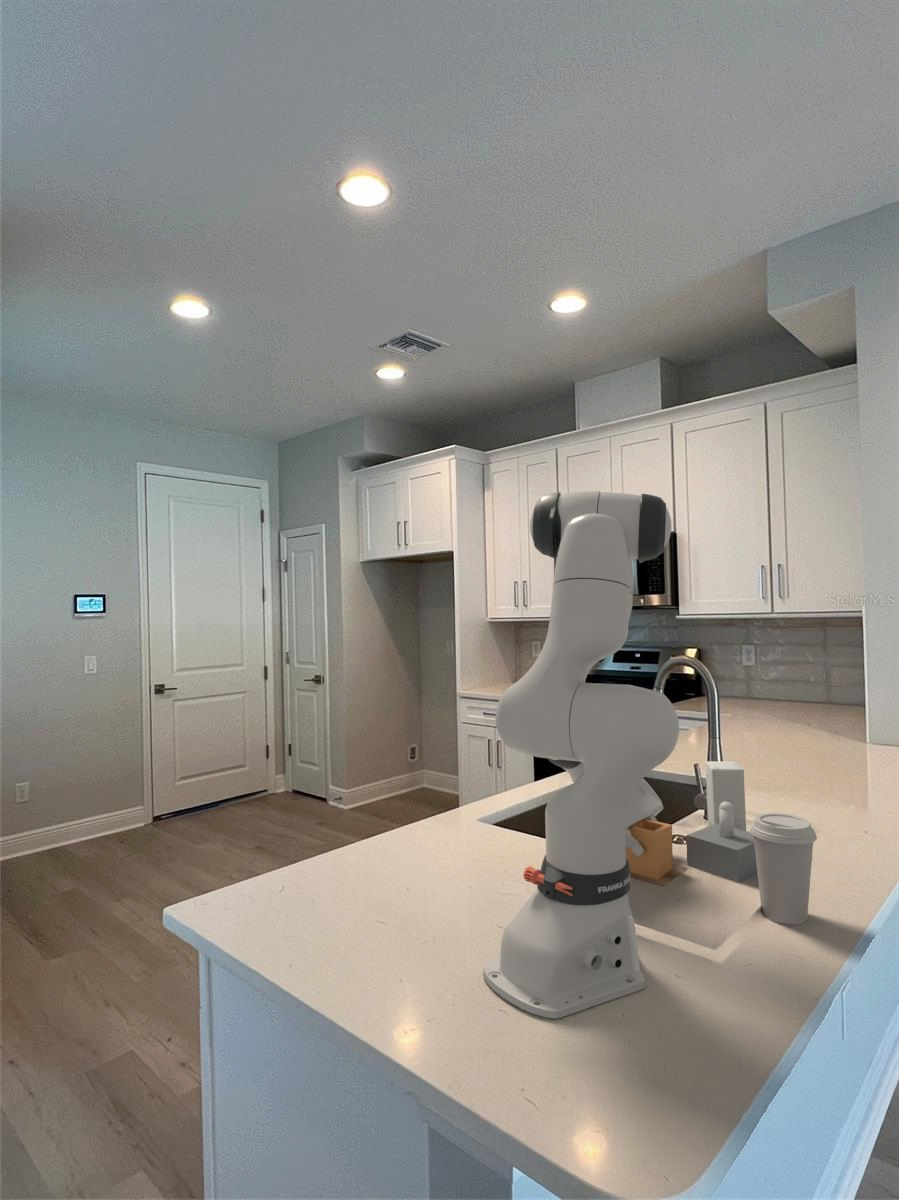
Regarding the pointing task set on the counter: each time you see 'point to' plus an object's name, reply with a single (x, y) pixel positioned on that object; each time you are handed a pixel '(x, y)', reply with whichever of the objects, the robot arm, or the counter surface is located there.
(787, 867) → the coffee cup
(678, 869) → the stand
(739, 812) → the skincare box
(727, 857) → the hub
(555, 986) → the robot arm
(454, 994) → the counter surface
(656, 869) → the sleeve
